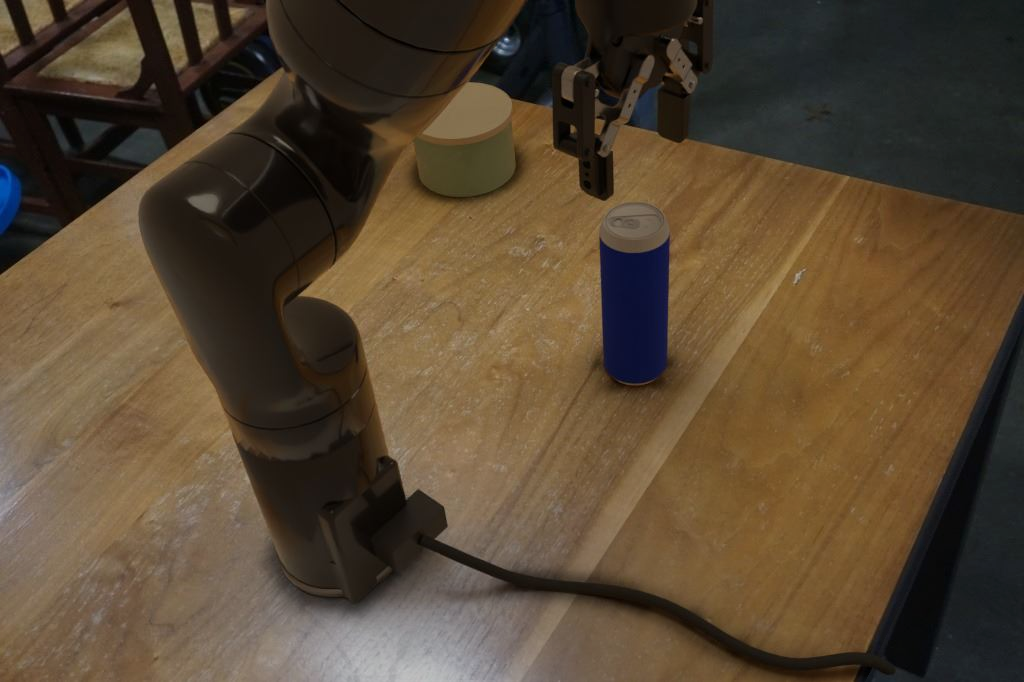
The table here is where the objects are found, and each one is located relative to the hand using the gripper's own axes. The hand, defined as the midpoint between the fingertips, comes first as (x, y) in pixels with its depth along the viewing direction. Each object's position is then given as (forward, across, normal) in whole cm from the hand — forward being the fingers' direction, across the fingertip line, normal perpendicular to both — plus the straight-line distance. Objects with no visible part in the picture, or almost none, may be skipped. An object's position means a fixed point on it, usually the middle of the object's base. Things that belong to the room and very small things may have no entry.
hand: (636, 165), depth 76 cm
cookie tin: (+20, +13, +32) cm, 39 cm away
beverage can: (+20, 0, 0) cm, 20 cm away
